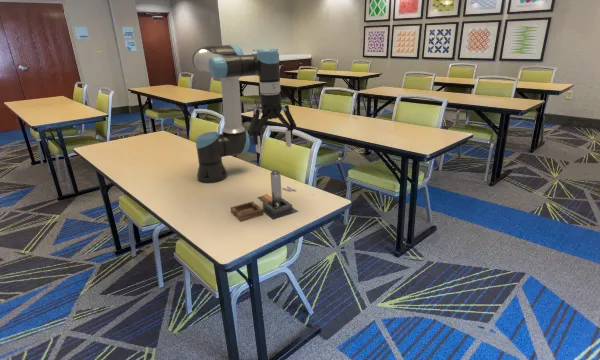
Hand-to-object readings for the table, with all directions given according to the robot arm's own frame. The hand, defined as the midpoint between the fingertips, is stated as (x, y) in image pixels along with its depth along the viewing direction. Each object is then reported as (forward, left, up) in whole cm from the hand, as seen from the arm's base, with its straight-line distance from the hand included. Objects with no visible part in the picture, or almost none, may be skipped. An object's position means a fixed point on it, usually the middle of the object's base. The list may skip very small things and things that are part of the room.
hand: (273, 149), depth 139 cm
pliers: (-10, +15, -27) cm, 33 cm away
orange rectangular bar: (-7, 0, -27) cm, 28 cm away
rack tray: (-4, -12, -27) cm, 29 cm away
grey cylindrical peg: (0, 0, -26) cm, 26 cm away
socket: (-4, 0, -27) cm, 27 cm away
